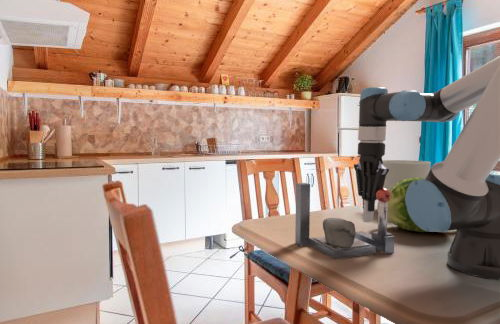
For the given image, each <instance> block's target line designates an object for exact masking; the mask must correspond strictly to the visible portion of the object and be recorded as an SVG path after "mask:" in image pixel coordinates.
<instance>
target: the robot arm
mask: <svg viewBox="0 0 500 324" xmlns="http://www.w3.org/2000/svg"><path fill="white" fill-rule="evenodd" d="M358 104H359V109H358V110H359V112H358V114H359V115H358V117H359V118H358V133H357V134H358V135H357V140H358V141H359V142H358V143H357V155H359V156H360V157H359V162H358V163H354V164H353V168H354V169H353V170H354V171H355V176H356V177H355V178H356V185H357V186H356V187H357V195H358V197H361V198H362V209H363V214H362V216H363V217H362V222H363V223H372V222H374V212H375V207H376V205H375V204H376V201H378V200H377V198H376V192H377V191H378V190H379V189H381V188H383V186H384V182H385V178H386V175H387V173H388V172H389V168H385V167H384V166H383V161H382V160H383V157H384V156H385V155H386V144H385V141H386V133H387V132H386V131H387V122H427V123H429V122H430V123H431V122H433V123H434V122H435V123H446V122H451V121H454V120H455V119H456V118H457V117H458V116H459V115H460V113H461V112H462V111H464V110H467V109H468V108H470V107H474V105H475V107H474V109H473V110H472V112H471V114H470V115H469V117H468V118H467V121H466V122H465V124H464V126H463V128H462V129H461V131H460V133H459V134H458V136H457V138H456V140H455V142H454V143H453V145H452V147H451V148H450V150H449V152H448V154H447V155H446V157H445V159H444V160H443V161H440V162H436V163H434V164H433V165H432V166H431V167H430V171H429V173H428V175H427V177H426V178H425V179H420V180H417V181H414V182H413V183H411V184H410V185H409V187H408V189H407V191H406V196H405V202H406V206H407V211H408V214H409V216H410V217H411V219H412V220H413V222H414V223H415V224H416V225H417V226H418V227H420V228H421V229H423V230H425V231H428V232H430V233H435V232H437V233H445V232H449V231H451V232H452V231H456V233H455V235H454V237H453V240H452V243H451V245H450V247H449V250H448V251H447V254H446V255H447V258H446V263H447V265H448V266H449V267H451V268H452V269H454V270H457V271H459V272H461V273H464V274H468V275H472V276H476V277H479V278H484V279H485V278H486V279H493V280H500V174H492V171H493V170H494V168H495V167H496V166H497V164H498V163H499V161H500V55H499V56H497V57H495V58H494V59H492V60H490V61H488V62H487V63H484V64H483V65H482V66H479V67H477V68H476V69H474V70H473V71H470V72H469V73H467V74H466V75H464V76H462V77H460V78H458V79H457V80H455V81H453V82H451V83H449V84H448V85H446V86H445V87H443V88H441V89H438V90H437V91H435V92H432V93H428V92H427V93H425V92H422V93H421V92H419V91H418V90H401V91H395V92H389V90H388V88H386V87H381V86H374V87H373V86H372V87H364V88H363V89H361V90H360V97H359V102H358Z"/></svg>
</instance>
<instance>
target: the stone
mask: <svg viewBox="0 0 500 324" xmlns="http://www.w3.org/2000/svg"><path fill="white" fill-rule="evenodd" d="M322 229H323V232H324V237H325V240H326V242H327V243H328V244H329V245H331V246H333V247H338V248H350V247H351V246H352V245H353V243H354V239H355V233H356V232H357V231H356V226H355V224H354V222H352V221H350V220H346V219H345V218H344V219H343V218H339V217H327V218H324V219H323V220H322Z"/></svg>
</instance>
